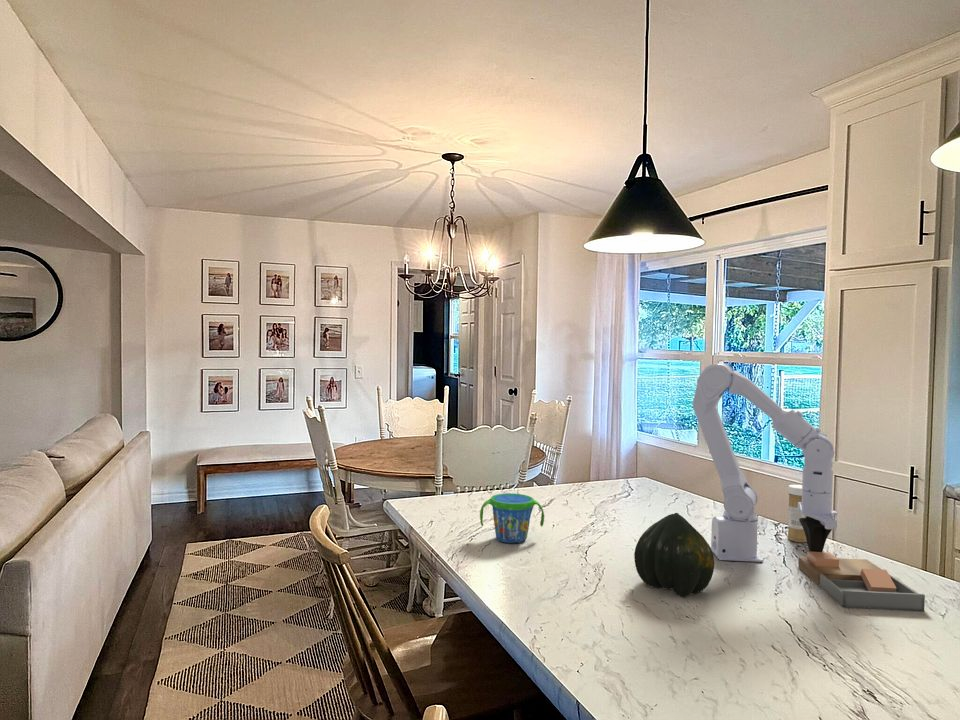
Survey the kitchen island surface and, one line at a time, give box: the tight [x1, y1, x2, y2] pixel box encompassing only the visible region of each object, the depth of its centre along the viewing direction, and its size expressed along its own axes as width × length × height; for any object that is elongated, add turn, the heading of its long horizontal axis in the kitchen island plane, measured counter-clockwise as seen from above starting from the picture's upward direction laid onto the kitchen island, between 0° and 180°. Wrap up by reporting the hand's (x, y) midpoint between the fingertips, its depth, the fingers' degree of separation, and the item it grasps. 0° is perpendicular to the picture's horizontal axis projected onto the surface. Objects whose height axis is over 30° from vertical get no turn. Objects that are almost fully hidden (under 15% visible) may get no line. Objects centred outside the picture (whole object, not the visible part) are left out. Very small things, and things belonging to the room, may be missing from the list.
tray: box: [819, 574, 926, 612], centre depth 120 cm, size 14×10×3 cm
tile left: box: [806, 550, 839, 567], centre depth 133 cm, size 4×4×2 cm
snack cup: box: [479, 492, 545, 544], centre depth 153 cm, size 16×10×10 cm
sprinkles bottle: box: [787, 484, 807, 544], centre depth 155 cm, size 5×5×13 cm
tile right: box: [860, 568, 897, 593], centre depth 123 cm, size 4×4×2 cm
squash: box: [633, 512, 715, 598], centre depth 124 cm, size 14×15×15 cm
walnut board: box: [798, 556, 893, 586], centre depth 131 cm, size 14×10×2 cm
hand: (815, 553), depth 136 cm, fingers closed
